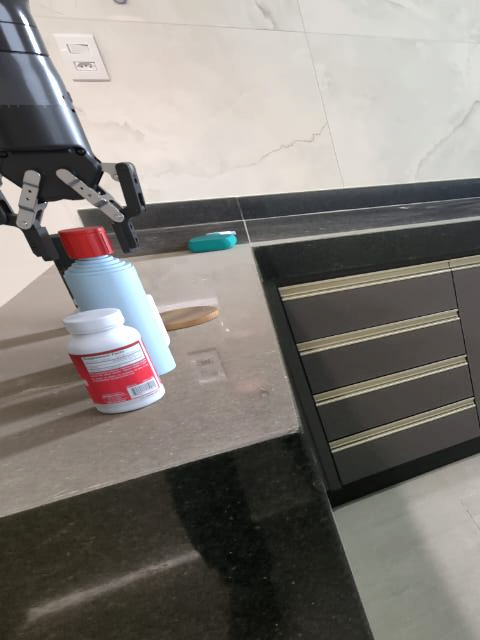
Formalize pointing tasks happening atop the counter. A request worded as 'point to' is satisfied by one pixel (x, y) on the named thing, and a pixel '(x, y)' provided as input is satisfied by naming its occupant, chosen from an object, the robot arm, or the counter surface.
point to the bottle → (119, 301)
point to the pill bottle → (112, 361)
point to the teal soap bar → (213, 242)
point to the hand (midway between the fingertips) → (92, 255)
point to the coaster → (188, 316)
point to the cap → (86, 242)
